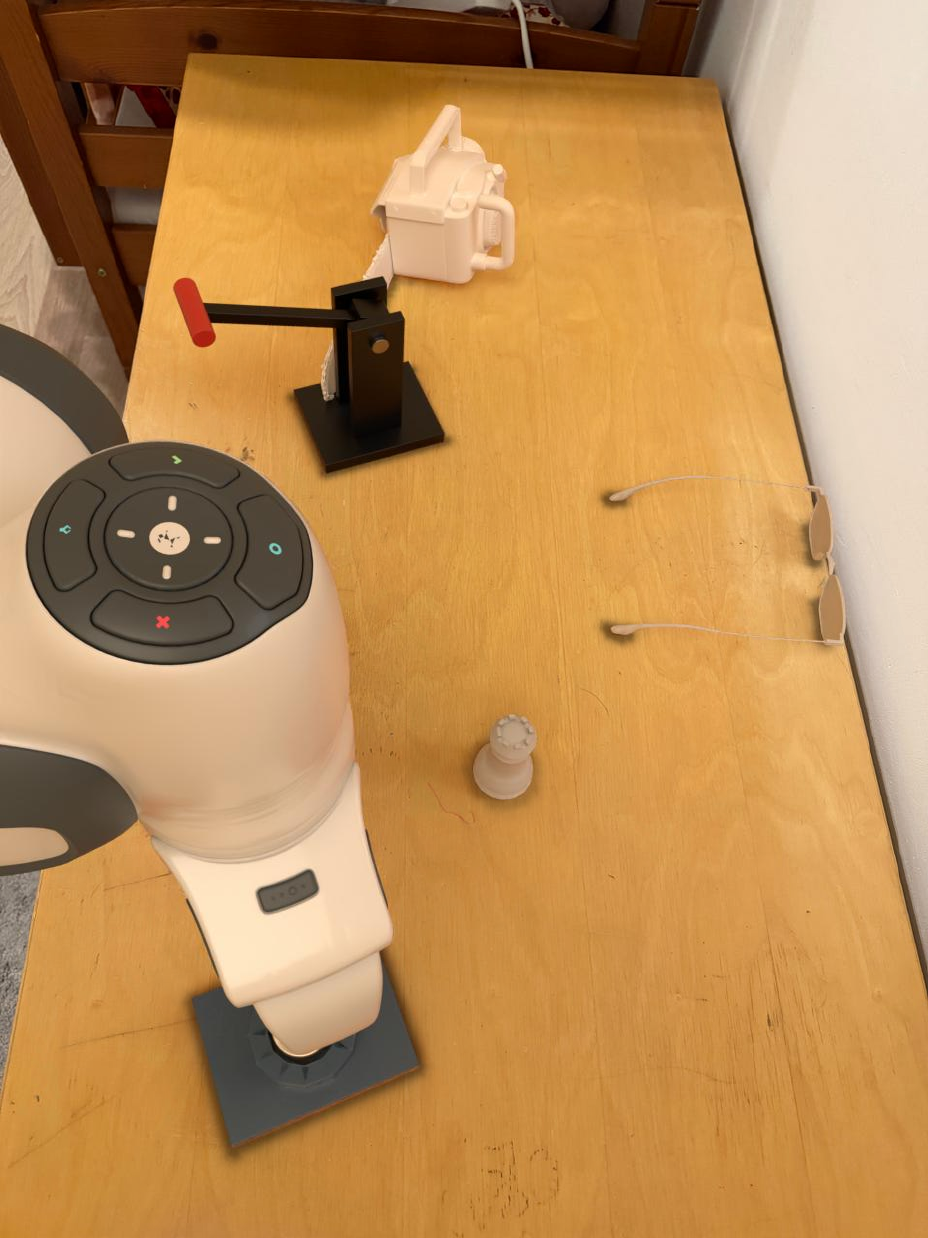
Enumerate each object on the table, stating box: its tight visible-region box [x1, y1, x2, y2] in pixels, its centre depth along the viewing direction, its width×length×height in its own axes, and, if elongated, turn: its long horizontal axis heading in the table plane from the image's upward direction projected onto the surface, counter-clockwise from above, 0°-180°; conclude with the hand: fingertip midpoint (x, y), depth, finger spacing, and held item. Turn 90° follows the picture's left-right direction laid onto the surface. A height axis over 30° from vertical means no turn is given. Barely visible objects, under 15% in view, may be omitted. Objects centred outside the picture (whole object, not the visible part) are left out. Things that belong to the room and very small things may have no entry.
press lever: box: [172, 277, 390, 349], centre depth 77 cm, size 16×6×2 cm, turn 112°
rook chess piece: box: [472, 713, 538, 801], centre depth 72 cm, size 4×4×8 cm
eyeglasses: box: [608, 475, 847, 647], centre depth 84 cm, size 15×18×4 cm
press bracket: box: [293, 276, 446, 474], centre depth 85 cm, size 11×9×14 cm
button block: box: [191, 951, 420, 1149], centre depth 63 cm, size 12×9×4 cm
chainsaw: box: [320, 104, 516, 401], centre depth 93 cm, size 15×35×12 cm, turn 165°
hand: (276, 859), depth 52 cm, fingers open, 8 cm apart
